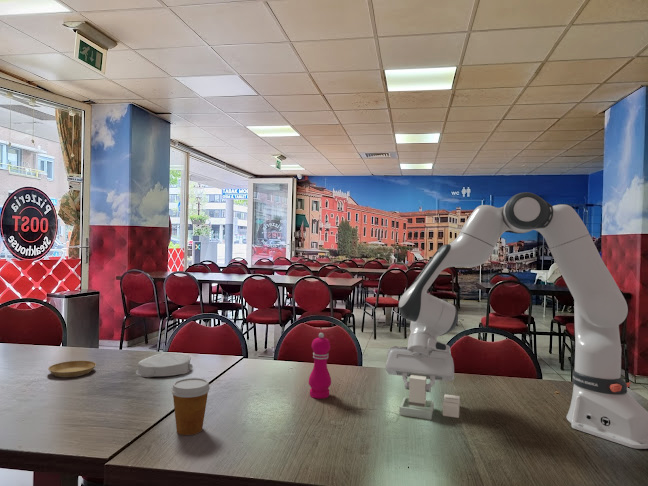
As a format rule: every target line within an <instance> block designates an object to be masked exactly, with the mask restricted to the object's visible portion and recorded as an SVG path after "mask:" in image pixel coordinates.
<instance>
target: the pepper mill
mask: <svg viewBox="0 0 648 486" xmlns="http://www.w3.org/2000/svg"><path fill="white" fill-rule="evenodd" d="M311 349H312V351H313V352H312V355H313V356H312V358H313V368H312V370H311V373H310V375H309V377H308V385H309V387H310V389H309V396H310V397H311V398H313V399H319V400H320V399H327V398H329V397H330V387H331V386H332V385H331V384H332V378H331V374H330V372H329V369H328V365H327V363H328V362H327V361H328V359H329V351H330V350H331V343H330V340H329V339H328V338H326V337H325V334H324V333H323V332H319V333H318V337H316V338H314V339H313V340H312V342H311Z"/></svg>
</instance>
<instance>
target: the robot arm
mask: <svg viewBox="0 0 648 486" xmlns="http://www.w3.org/2000/svg"><path fill="white" fill-rule="evenodd" d="M533 231H536V232H537V233H540V234H541V236H542V237H543V239H545V242H546V244H547V246H548V249H549V250H550V253H551V256H552V258H553V259H554V262H555V264H556V266H557V268H558V271H559V273H560V274H561V276H562V278H563V281H564V282H565V284H566V286H567V289H568V290H569V292H570V294H571V296H572V297H573V300H574V301H573V304H574V306H573V307H574V308H573V311H574V314H573V315H574V337H575V338H574V339H575V342H574V343H575V347H574V350H575V351H574V368H573V370H572V379H571V380H572V381H571V382H572V388H573V389H572V394H571V395H572V396H571V401H570V405H569V408H568V412H567V414H566V419H567V421H568V422H569V423H570V424H571V428H572V429H575V430H578V431H580V432H583V433H587V434H590V435H592V436H596V437H598V438H601V439H603V440H607V441H610V442H612V443H613V442H614V443H616V444H619V445H622V446H625V447H629V448H631V449H638V450H643V449H645V450H646V449H648V410H647V409H645V408H644V407H643V406H642V405H641V404H640V403H639V402H638V401H636V399H635V398H634V397H633V396H631V394H629V392H628V388H629V387H631V384H632V382H631V381H630V382H626V381H625V380H624V379H623V377H622V376H621V375H622V374H621V373H622V372H621V371H622V351H623V350H622V344H621V335H620V325H621V324H623V322H624V321H625V320H626V319H627V316H628V312H629V310H628V309H629V308H628V304H627V300H626V299H625V297H624V295H623V293H622V291H621V290H620V288H619V285H618V284H617V282H616V281H615V279H614V277H613V275H612V274H611V272H610V270H609V268H608V267H607V265H606V264H605V262H604V260H603V259H602V256H601V254H600V253H599V251H598V249H597V246H596V245H595V242H594V241H593V238H592V236H591V234H590V231H588V228H587V226H586V225H585V223H584V221H583V220H582V218H581V217H580V215H579V214H578V212H576V210H575V209H574V208H573V207H572V206H571V205H568V204H556V205H552V204H551V203H549V202H547V201H546V200H544V199H543V198H542V197H541V196H539V195H537V194H535V193H533V192H528V191H527V192H519V193H516V194H515V195H512V196H511V197H510V198H509V199H508V200H507V202H506V203H505V204H504V205H503V206H501V207H496V206H493V205H490V204H481V205H478V206H477V207H475V208H474V210H473V211H472V213H471V214H470V215H469V216H468V218H467V219H466V221H465V223H463V226H462V227H461V229H460V231H459V234H458V235H457V237H455V238H454V240H453V241H451V242H450V243H448V244H447V243H446V244H442V245H441V246H440V247H439V248H438V249H437V250H436V252H435V253H434V254H433V255H432V256H431V258H430V259H429V260H428V261H427V263H426V264H425V266H424V267H423V268H422V269H421V271H420V273H419V274H418V275H417V276H416V278H415V279H414V281H413V282H412V283H411V285H409V287H407V289H406V290H405V291H404V292H403V293H402V294H401V297H400V298H399V301H398V306H397V307H398V310H399V313H400V316H401V317H403V319H405V320H408V321H410V325H409V330H410V334H409V335H408V338H407V340H408V341H407V347H406V346H398V345H394V346H392V347H390V348H388V350H387V353H386V356H387V359H386V361H385V362H386V363H385V370H386V373H387V374H388V375H391V376H392V375H393V376H399V377H400V376H401V378H402V380H403V382H404V390H409V381H408V378H410V376H411V374H414V375H422V376H427V378H426V380H430V381H429V383H426V387H425V392H426V393H431V390H432V387H433V386H434V385H435V384H436V381H441V382H452V381H454V380H455V363H454V359H453V357H452V353H451V352H452V351H451V347H450V345H448V344H445V343H443V342H441V341H438V340H437V338H438V337H442V336H444V335H446V334H448V333H451V332H452V331H453V330H454V329H456V327H457V324H458V321H459V319H458V318H459V315H458V309H457V308H456V306H455V305H454V304H452V303H450V302H448V301H446V300H444V299H441V298H438V297H437V296H434V295H433V294H430V293H428V292H427V291H428V290H429V289H430V288H431V286H432V284H433V283H434V282H435V280H436V279H437V278H438V276H439V274H441V272H442V271H444V270H446V269H447V268H453V267H456V268H474V267H479V266H482V265H483V264H485V263H486V262H487V261H488V260H489V258H490V257H491V255H492V253H493V251H494V249H495V247H496V245H497V243H498V242H499V240H500V238H501V236H502V235H503V234H504V233H511V234H516V235H517V234H526V233H529V232H533Z"/></svg>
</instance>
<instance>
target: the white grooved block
mask: <svg viewBox="0 0 648 486" xmlns="http://www.w3.org/2000/svg"><path fill="white" fill-rule="evenodd" d="M460 398H461V395H456V394H449V393H444V396H443V402H442V416H443V417H451V418H458V419H459V418H460V405H461V404H460V401H461V399H460Z"/></svg>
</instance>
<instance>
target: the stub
mask: <svg viewBox="0 0 648 486" xmlns="http://www.w3.org/2000/svg"><path fill="white" fill-rule="evenodd" d="M426 378H427V376H422V375H414V374H411V376H410V377H409V381H408V382H409V391H408V398H409V406H416V407H423V408H425V404H426V400H427V392H425V387H426V384H427V379H426Z"/></svg>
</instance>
